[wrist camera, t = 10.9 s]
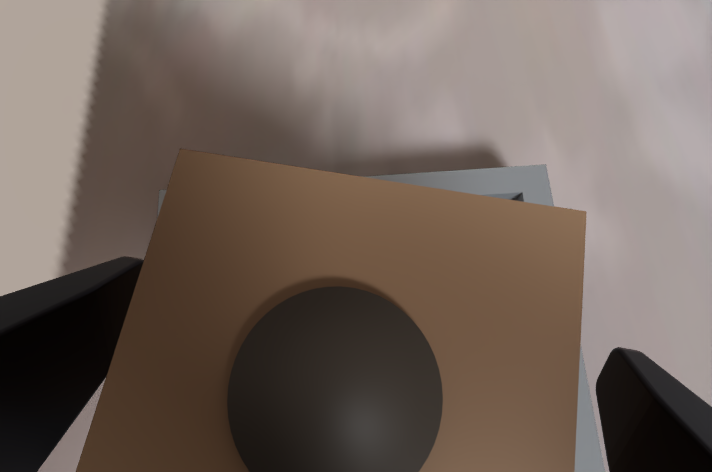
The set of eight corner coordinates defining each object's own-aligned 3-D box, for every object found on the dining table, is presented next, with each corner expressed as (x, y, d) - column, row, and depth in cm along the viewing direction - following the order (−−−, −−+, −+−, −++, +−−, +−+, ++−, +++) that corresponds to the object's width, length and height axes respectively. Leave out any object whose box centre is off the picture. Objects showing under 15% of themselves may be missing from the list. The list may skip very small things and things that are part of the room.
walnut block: (416, 459, 16) (569, 761, 3) (287, 432, 16) (17, 620, 4) (434, 326, 17) (592, 206, 5) (314, 305, 17) (174, 141, 5)
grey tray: (594, 593, 15) (636, 636, 12) (164, 614, 15) (124, 660, 13) (524, 190, 19) (545, 164, 16) (186, 212, 19) (159, 190, 17)
